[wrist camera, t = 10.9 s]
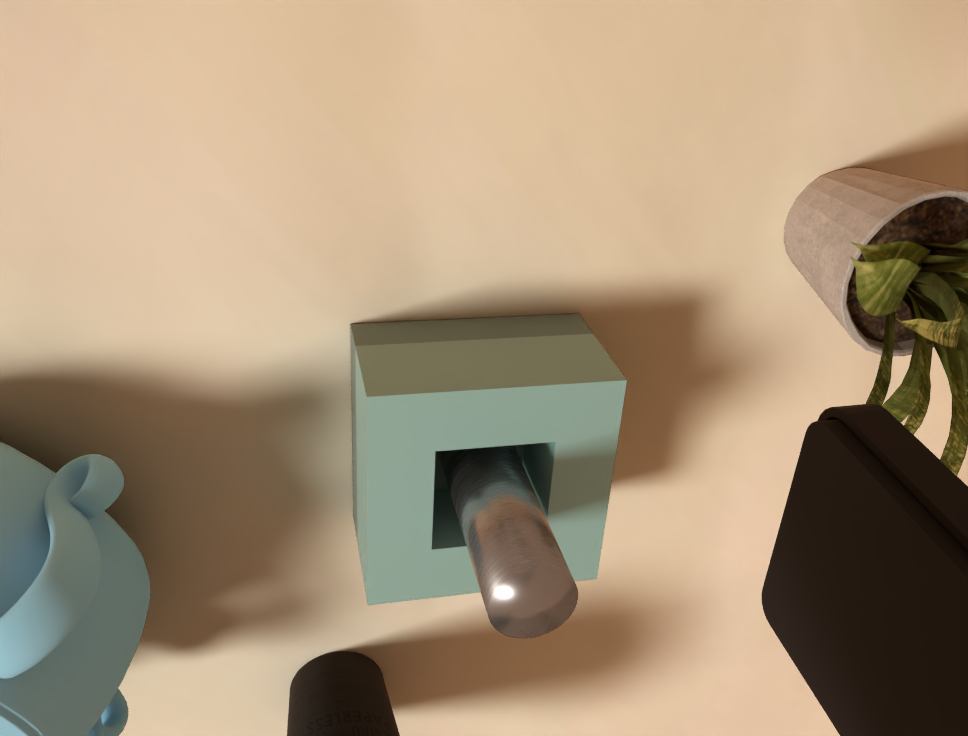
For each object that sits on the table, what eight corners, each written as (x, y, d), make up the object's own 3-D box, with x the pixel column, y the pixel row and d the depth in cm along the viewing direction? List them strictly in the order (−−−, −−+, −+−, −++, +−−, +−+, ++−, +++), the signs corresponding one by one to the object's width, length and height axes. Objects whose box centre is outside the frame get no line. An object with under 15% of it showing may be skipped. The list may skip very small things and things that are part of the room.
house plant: (615, 343, 41) (802, 590, 28) (731, 31, 36) (1042, 145, 22) (868, 383, 46) (1137, 612, 32) (1007, 112, 40) (1410, 249, 26)
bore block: (350, 324, 38) (366, 397, 33) (578, 313, 40) (626, 380, 35) (353, 515, 43) (367, 605, 38) (556, 496, 45) (596, 578, 40)
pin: (438, 415, 39) (490, 573, 30) (511, 409, 39) (582, 563, 31) (436, 476, 40) (485, 643, 32) (506, 470, 41) (573, 632, 32)
